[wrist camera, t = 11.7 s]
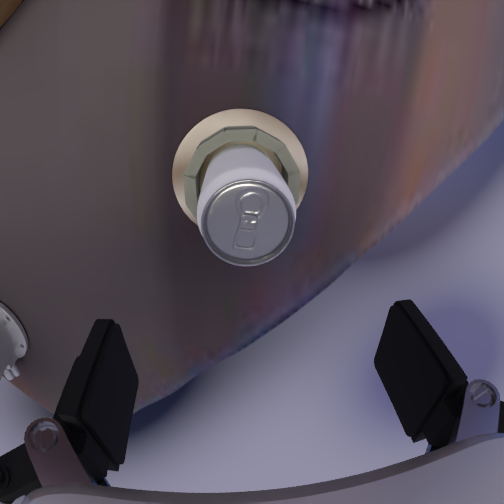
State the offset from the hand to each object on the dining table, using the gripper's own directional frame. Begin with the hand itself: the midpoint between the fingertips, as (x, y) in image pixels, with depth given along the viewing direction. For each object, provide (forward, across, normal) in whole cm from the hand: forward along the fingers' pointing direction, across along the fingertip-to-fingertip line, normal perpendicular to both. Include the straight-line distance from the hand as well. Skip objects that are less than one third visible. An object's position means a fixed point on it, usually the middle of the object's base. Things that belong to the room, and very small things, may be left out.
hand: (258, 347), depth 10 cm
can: (+22, 0, 0) cm, 22 cm away
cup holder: (+23, -1, 0) cm, 23 cm away
